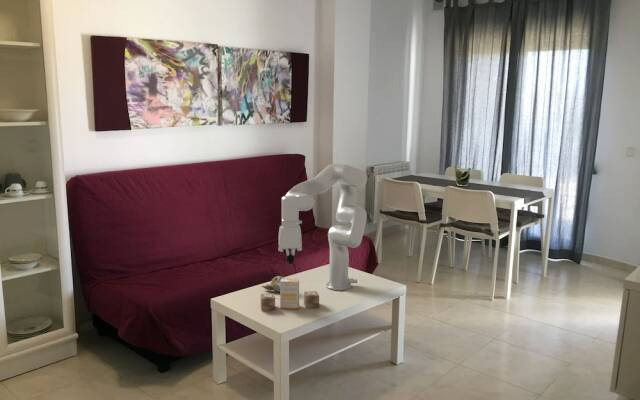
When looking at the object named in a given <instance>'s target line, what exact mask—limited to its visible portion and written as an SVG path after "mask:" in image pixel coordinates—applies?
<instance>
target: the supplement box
mask: <svg viewBox="0 0 640 400" xmlns="http://www.w3.org/2000/svg"><path fill="white" fill-rule="evenodd" d="M279 294H280V295H279V297H280V309H284V310H285V309H287V310H288V309H290V310H298V309H299V307H300V278H288V277H287V278H286V277H284V278H282V279H281V281H280V292H279Z"/></svg>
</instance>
